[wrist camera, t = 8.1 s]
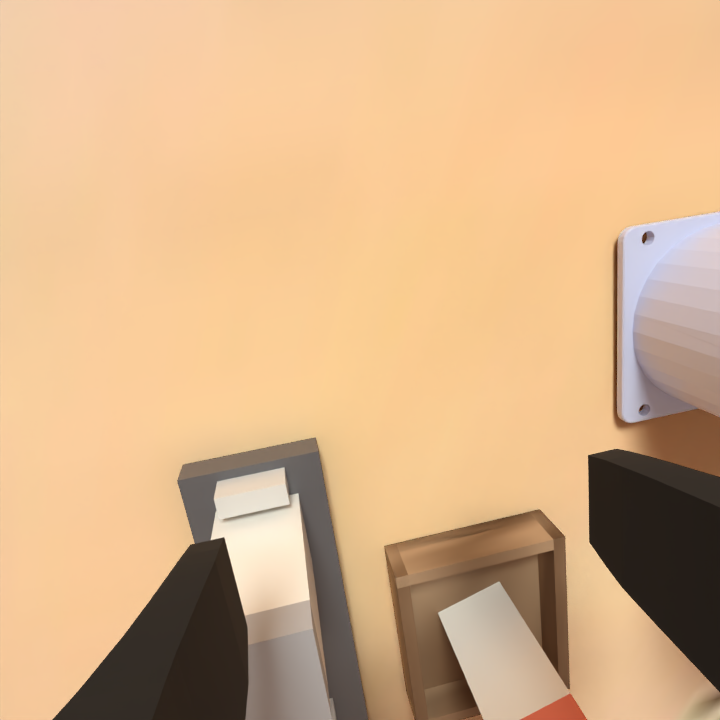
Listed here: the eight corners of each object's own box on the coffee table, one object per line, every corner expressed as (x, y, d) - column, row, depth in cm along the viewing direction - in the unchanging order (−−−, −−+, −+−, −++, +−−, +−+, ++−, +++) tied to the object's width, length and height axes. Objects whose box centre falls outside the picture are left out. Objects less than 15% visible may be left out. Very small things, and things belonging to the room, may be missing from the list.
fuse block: (315, 437, 20) (321, 466, 17) (380, 786, 25) (391, 843, 23) (182, 464, 19) (170, 498, 17) (279, 816, 24) (279, 877, 22)
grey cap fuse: (298, 493, 19) (312, 628, 13) (312, 561, 20) (331, 718, 13) (215, 511, 18) (188, 659, 12) (233, 579, 19) (217, 750, 13)
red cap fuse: (499, 581, 22) (588, 721, 16) (520, 629, 23) (612, 779, 17) (437, 612, 22) (503, 766, 16) (461, 659, 23) (532, 822, 17)
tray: (539, 509, 22) (564, 536, 20) (546, 652, 25) (569, 688, 23) (384, 546, 21) (395, 578, 19) (406, 690, 24) (418, 731, 22)
